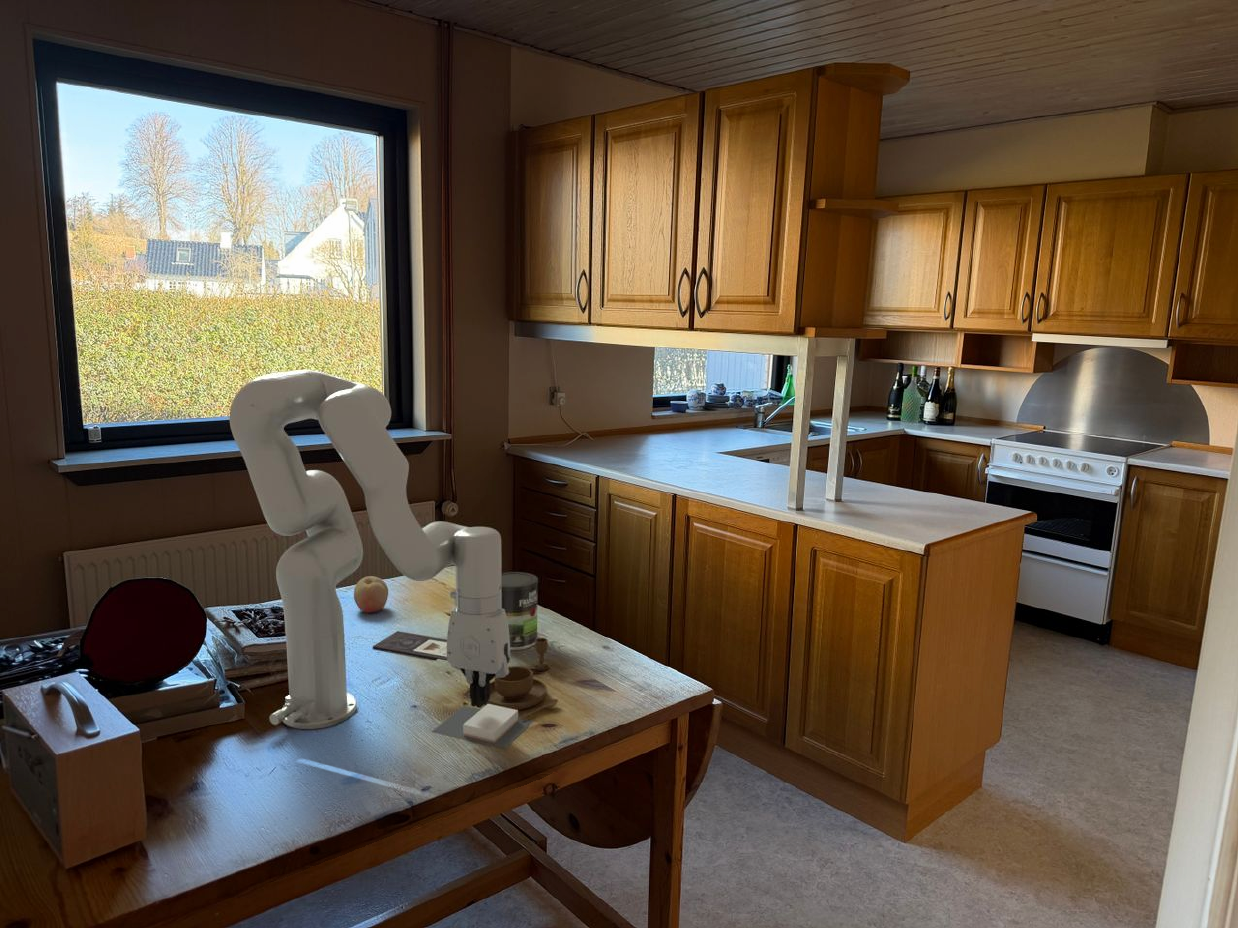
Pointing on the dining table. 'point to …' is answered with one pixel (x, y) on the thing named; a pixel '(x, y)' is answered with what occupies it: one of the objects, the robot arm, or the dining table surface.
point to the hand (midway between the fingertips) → (480, 703)
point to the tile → (490, 723)
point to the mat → (455, 729)
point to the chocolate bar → (414, 645)
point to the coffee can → (520, 608)
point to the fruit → (371, 594)
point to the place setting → (521, 686)
